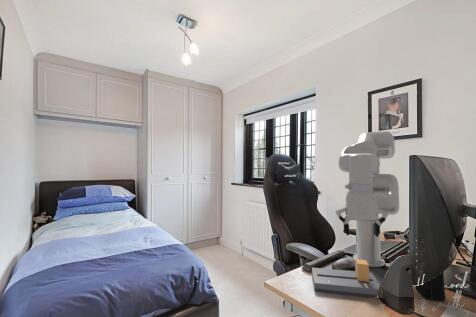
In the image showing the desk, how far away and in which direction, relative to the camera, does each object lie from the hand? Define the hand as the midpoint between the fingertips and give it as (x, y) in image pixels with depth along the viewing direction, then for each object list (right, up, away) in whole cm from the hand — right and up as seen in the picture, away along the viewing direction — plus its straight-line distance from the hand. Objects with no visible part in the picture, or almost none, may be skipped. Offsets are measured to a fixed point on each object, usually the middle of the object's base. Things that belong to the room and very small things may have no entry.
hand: (361, 234), depth 85 cm
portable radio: (+20, -19, -6) cm, 28 cm away
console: (-6, -19, +1) cm, 20 cm away
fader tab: (0, -18, 0) cm, 18 cm away
